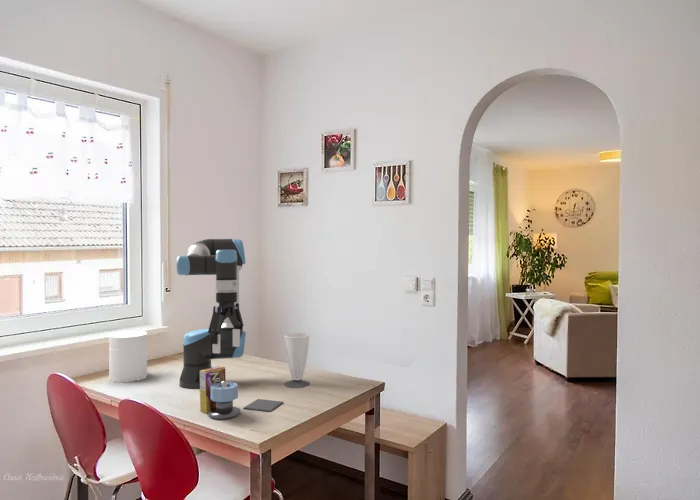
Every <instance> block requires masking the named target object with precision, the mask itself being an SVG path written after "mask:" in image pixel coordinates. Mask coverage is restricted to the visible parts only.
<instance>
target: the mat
mask: <svg viewBox="0 0 700 500" xmlns="http://www.w3.org/2000/svg"><path fill="white" fill-rule="evenodd" d="M282 404H284V401H281V400H271V399H263V398H262V399H261V398H257V399H255V400H253V401H252V402H250V403H249V404H247V405H246V406H244V407H243V410H249V411H258V412H259V411H260V412H267V413H271V412H272V411H273V410H275V409H277V408H278V407H279V406H281V405H282Z"/></svg>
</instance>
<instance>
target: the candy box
mask: <svg viewBox="0 0 700 500" xmlns="http://www.w3.org/2000/svg"><path fill="white" fill-rule="evenodd" d="M221 381H227V380H226V367H225V366H221V365H219V366H213V367H212V368H209V369H205V370H201V371H200V388H199V400H200V402H199V403H200V404H199V405H200V407H199V408H200V409H199V410H200V412H202V413H203V414H209V411H210V410H211V409H214V408H216V402H215V401H212V400H211V389H210V386H211V385H213V384H215V383H221Z"/></svg>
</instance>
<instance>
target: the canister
mask: <svg viewBox="0 0 700 500" xmlns="http://www.w3.org/2000/svg"><path fill="white" fill-rule="evenodd" d="M147 341H148V332H146V331H141V330H139V331H138V330H130V331H129V330H128V331H127V330H125V331H120V332H119V331H118V332H114V333H110V334H109V335H108V347H109V348H108V360H109V361H108V364H109V365H108V368H109V369H108V370H109V371H108V373H109V374H108V375H109V376H108V377H109V378H108V379H110V380H111V381H110V380H109V381H110V382H113V381H116V382H115V383H127V382H126V381H131V382H135V381H134V380H137V381H139V380H138V379H141V380H143V379H145V378H144V377H146V376H147V377H148V346H147V345H148V344H147V343H148V342H147ZM147 377H146V378H147ZM142 378H143V379H142Z"/></svg>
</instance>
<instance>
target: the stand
mask: <svg viewBox="0 0 700 500" xmlns="http://www.w3.org/2000/svg"><path fill="white" fill-rule="evenodd" d="M227 382H228V381H227V380H226V381H221V387H227ZM240 414H241V409H240V408H239V407H236V406H234V400H233V401H227V402H216V408H214V409H211V410H210V411H209V413H208V418H209V419H212V420H215V421H225V420H231V419H235V418H237V417H238V416H240Z"/></svg>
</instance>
